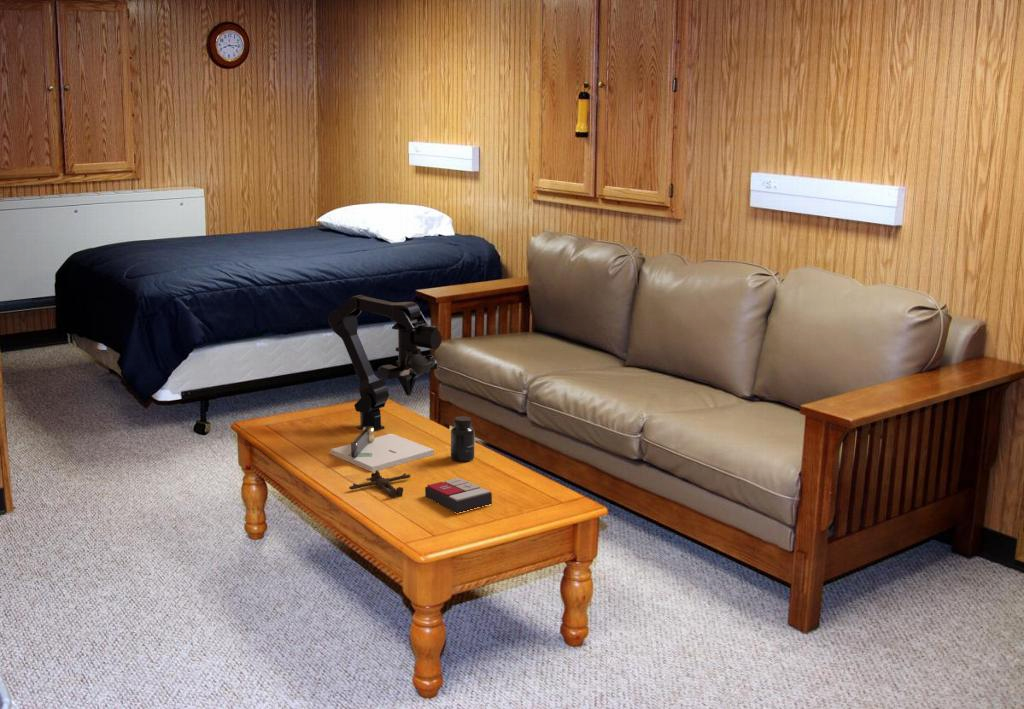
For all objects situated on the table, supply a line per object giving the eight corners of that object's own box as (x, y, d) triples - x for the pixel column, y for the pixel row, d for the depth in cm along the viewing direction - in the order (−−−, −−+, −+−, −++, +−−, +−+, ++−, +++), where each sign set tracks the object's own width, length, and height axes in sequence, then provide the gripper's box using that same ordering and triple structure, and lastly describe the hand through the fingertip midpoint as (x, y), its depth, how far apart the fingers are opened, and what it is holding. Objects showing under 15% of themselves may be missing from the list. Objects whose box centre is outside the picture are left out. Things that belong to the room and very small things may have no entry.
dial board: (330, 454, 312) (330, 448, 311) (391, 438, 326) (391, 433, 326) (372, 472, 298) (372, 466, 297) (434, 454, 312) (433, 449, 312)
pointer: (364, 438, 320) (364, 425, 319) (375, 439, 319) (375, 426, 318) (348, 456, 304) (347, 443, 303) (359, 457, 303) (358, 444, 302)
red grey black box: (459, 475, 287) (492, 489, 275) (459, 491, 287) (492, 505, 276) (424, 484, 280) (456, 498, 268) (424, 500, 281) (457, 515, 269)
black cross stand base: (366, 494, 274) (342, 472, 286) (365, 510, 276) (341, 487, 287) (428, 481, 284) (402, 460, 295) (427, 496, 285) (402, 474, 297)
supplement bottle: (473, 462, 306) (474, 422, 303) (449, 462, 306) (449, 422, 303) (475, 454, 313) (475, 415, 310) (451, 454, 313) (451, 414, 310)
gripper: (399, 354, 310) (400, 406, 313) (449, 344, 322) (449, 395, 326) (376, 347, 317) (377, 398, 321) (425, 338, 330) (426, 387, 334)
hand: (408, 395), depth 325 cm, fingers closed
